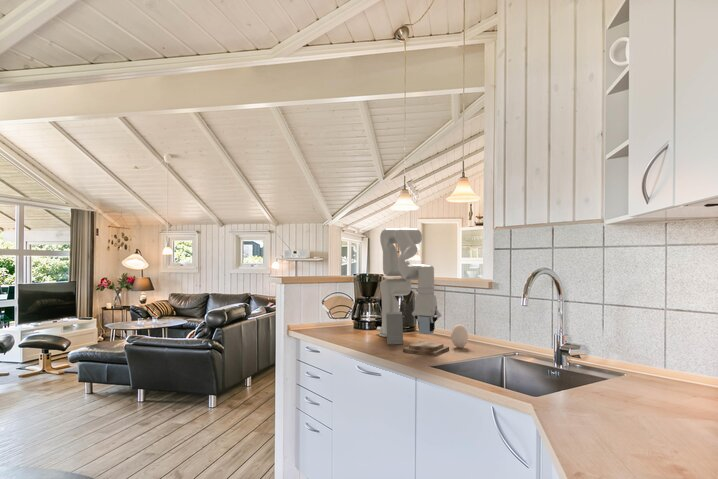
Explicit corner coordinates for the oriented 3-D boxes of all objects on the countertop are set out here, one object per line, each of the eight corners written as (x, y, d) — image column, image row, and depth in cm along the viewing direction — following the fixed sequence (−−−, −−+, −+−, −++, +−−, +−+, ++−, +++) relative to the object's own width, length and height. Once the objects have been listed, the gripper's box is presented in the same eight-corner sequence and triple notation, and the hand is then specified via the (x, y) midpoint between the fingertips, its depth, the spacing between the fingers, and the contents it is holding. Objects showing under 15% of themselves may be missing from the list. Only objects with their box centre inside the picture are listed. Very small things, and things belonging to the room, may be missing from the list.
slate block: (419, 333, 206) (419, 316, 206) (423, 332, 210) (423, 315, 210) (428, 334, 203) (428, 317, 203) (433, 333, 207) (433, 315, 207)
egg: (449, 348, 212) (449, 324, 212) (453, 345, 219) (453, 322, 219) (465, 350, 208) (465, 325, 209) (469, 347, 215) (469, 323, 216)
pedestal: (402, 351, 204) (402, 345, 204) (418, 346, 217) (418, 340, 217) (434, 356, 195) (434, 349, 195) (449, 350, 208) (449, 343, 208)
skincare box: (403, 342, 227) (402, 311, 227) (403, 345, 220) (403, 313, 220) (386, 342, 228) (386, 311, 228) (386, 344, 221) (386, 312, 221)
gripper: (406, 291, 209) (406, 329, 208) (439, 292, 199) (440, 333, 198) (413, 290, 215) (413, 327, 214) (446, 291, 205) (446, 331, 205)
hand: (426, 330), depth 206 cm, fingers closed on slate block, 5 cm apart
